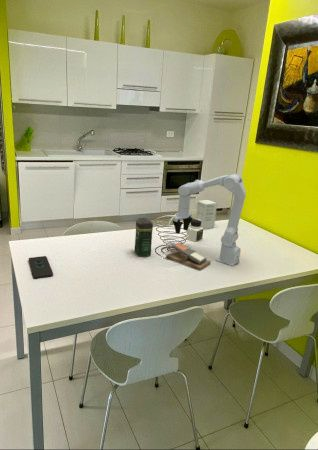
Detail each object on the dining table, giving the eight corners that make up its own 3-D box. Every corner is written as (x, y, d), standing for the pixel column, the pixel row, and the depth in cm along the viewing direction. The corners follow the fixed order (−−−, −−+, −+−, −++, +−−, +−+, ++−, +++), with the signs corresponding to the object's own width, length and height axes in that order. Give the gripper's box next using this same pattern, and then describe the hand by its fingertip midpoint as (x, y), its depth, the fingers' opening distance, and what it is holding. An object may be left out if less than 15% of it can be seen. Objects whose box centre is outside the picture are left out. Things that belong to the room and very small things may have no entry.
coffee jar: (152, 256, 174) (155, 222, 168) (137, 257, 171) (139, 222, 165) (147, 249, 183) (149, 216, 177) (132, 250, 180) (134, 216, 174)
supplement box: (214, 227, 224) (217, 203, 218) (203, 229, 219) (206, 204, 214) (205, 223, 231) (208, 199, 226) (194, 225, 227) (197, 200, 221)
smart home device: (46, 255, 164) (53, 273, 147) (46, 258, 165) (53, 277, 148) (28, 257, 160) (33, 276, 144) (28, 260, 161) (33, 280, 144)
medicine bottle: (196, 242, 197) (198, 222, 193) (185, 239, 201) (187, 219, 197) (202, 239, 203) (204, 220, 199) (192, 236, 207) (194, 217, 203)
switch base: (210, 264, 170) (211, 255, 169) (199, 270, 162) (200, 261, 161) (176, 252, 181) (177, 244, 180) (165, 258, 173) (166, 249, 172)
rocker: (205, 261, 169) (206, 257, 168) (199, 265, 164) (200, 261, 164) (178, 245, 177) (179, 241, 176) (171, 248, 173) (172, 245, 172)
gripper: (185, 203, 187) (182, 226, 191) (169, 208, 176) (167, 232, 180) (196, 206, 183) (193, 229, 187) (180, 211, 172) (178, 236, 176)
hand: (181, 231), depth 184 cm, fingers open, 7 cm apart
